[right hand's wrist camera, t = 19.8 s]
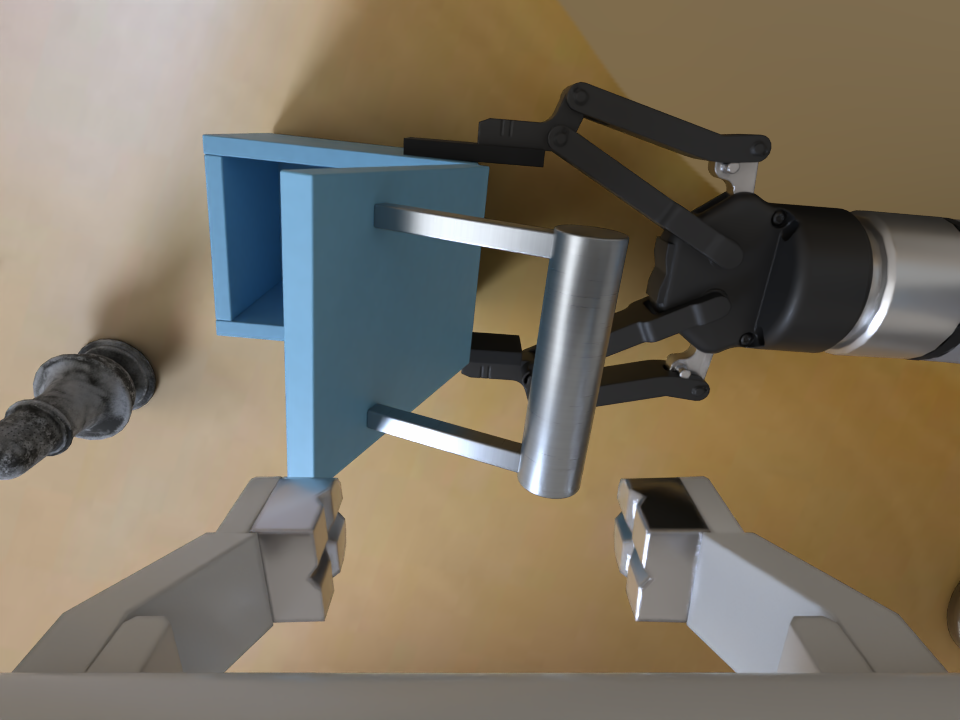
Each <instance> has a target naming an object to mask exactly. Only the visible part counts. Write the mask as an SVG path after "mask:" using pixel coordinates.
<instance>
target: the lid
mask: <svg viewBox="0 0 960 720" xmlns="http://www.w3.org/2000/svg"><path fill="white" fill-rule="evenodd" d="M488 176H489V167H488V166H482V165H475V164H449V165H417V166H386V167H354V168H322V169H290V170H281V171H280V185H281V225H282V266H283V306H284V346H285V387H286V427H287V467H288V477H319V478H333V477H334V476H335V475H336V474H337V473H339V472H340V471H341V470H342V469H343V468H345V467H346V466H347V465H348V464H349V463H351V462H352V461H353V460H354V459H355V458H357V457H358V456H359V455H360V454H361V453H362V452H364V451H365V450H366V449H367V448H368V447H370V446H371V445H372V444H373V443H374V442H376V441H377V440H378V439H379V438H380V437H382V436H383V435H384V434H385V433H387V434H390V435H393V436H397V437H400V438H403V439H407V440H410V441H413V442H417V443H420V444H424V445H427V446H430V447H434V448H437V449H440V450H444V451H447V452H450V453H454V454H457V455H460V456H464V457H467V458H470V459H474V460H477V461H480V462H484V463H487V464H490V465H494V466H497V467H501V468H504V469H507V470H511V471H514V472H517V477H518V480H519V482H520V484H521V485H522V486H523V487H524V488H525V489H526V490H528V491H529V492H531V493H533V494H535V495H538V496H541V497H545V498H551V499H562V498H567V497H570V496H572V495H574V494H575V493H576V492H577V491H578V490H579V488H580V484H581V479H582V474H583V469H584V464H585V459H586V454H587V448H588V443H589V438H590V433H591V428H592V423H593V418H594V413H595V408H596V403H597V398H598V393H599V388H600V383H601V378H602V373H603V368H604V363H605V358H606V353H607V348H608V343H609V338H610V333H611V328H612V323H613V318H614V313H615V308H616V303H617V298H618V292H619V287H620V282H621V277H622V272H623V267H624V262H625V257H626V252H627V247H628V242H629V236H627V235H626V234H624V233H621V232H618V231H614V230H609V229H604V228H598V227H591V226H582V225H559V226H556V227H555V228H554V229H548V228H542V227H536V226H530V225H523V224H517V223H511V222H505V221H499V220H492V219H486V218H484V215H485V205H486V195H487V186H488ZM481 247H487V248H492V249H498V250H504V251H509V252H515V253H521V254H526V255H532V256H537V257H543V258H549V266H548V273H547V279H546V286H545V293H544V299H543V306H542V313H541V320H540V326H539V333H538V340H537V346H536V353H535V360H534V366H533V373H532V380H531V386H530V393H529V400H528V407H527V413H526V420H525V427H524V433H523V440H522V444H521V443H517V442H514V441H510V440H507V439H503V438H500V437H496V436H493V435H489V434H485V433H482V432H478V431H475V430H471V429H468V428H464V427H461V426H457V425H454V424H450V423H446V422H443V421H439V420H436V419H432V418H429V417H425V416H422V415H418V414H415V413H411V411H412V410H414V409H415V408H416V407H417V406H418V405H420V404H421V403H422V402H423V401H424V400H426V399H427V398H428V397H429V396H430V395H432V394H433V393H434V392H435V391H436V390H438V389H439V388H440V387H441V386H442V385H443V384H445V383H446V382H447V381H448V380H449V379H451V378H452V377H453V376H454V375H455V374H457V373H458V372H459V371H460V370H461V369H463V368H464V367H465V366H466V365H467V364H468V363H469V359H470V349H471V340H472V330H473V320H474V311H475V301H476V292H477V282H478V272H479V263H480V253H481Z"/></svg>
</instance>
